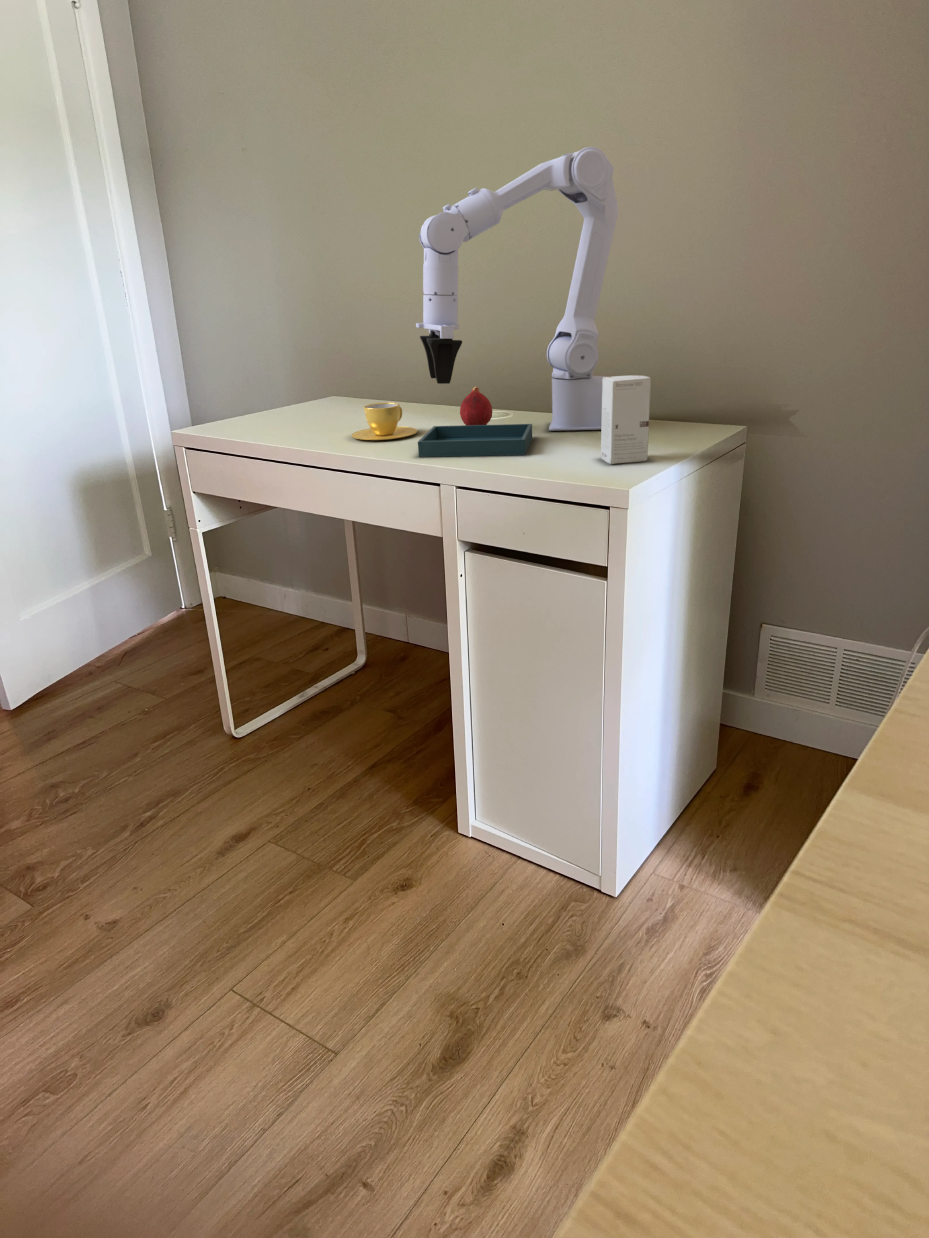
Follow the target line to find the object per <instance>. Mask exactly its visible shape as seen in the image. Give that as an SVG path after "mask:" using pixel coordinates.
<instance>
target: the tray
mask: <svg viewBox="0 0 929 1238" xmlns="http://www.w3.org/2000/svg"><path fill="white" fill-rule="evenodd" d="M532 440H533V423H512V424H511V423H510V424H509V423H508V424H487V425H465V424H464V425H433V426H432V427H431V428H430V429H429V430H428V431H427V432H426V433H425V434H424V435H423V436H422V437H421V438H420V439H419V440H417V451H418V458H443V457H444V458H446V457H448V458H449V457H450V458H451V457H501V456H508V457H509V456H511V457H512V456H526V454H527V451H528V450H529V447H530V445H531V443H532Z"/></svg>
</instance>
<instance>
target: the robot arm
mask: <svg viewBox="0 0 929 1238" xmlns="http://www.w3.org/2000/svg"><path fill="white" fill-rule="evenodd" d="M614 171H615V167H614V166H613V164H612V163H611V161H610V160H609V158H608V157H607V156H606V154H605V153H604V151H603V150H601V149H600V148H598V147H595V146H585V147H584V148H581V149H580V150H577V151H575V152H569V153H565V154H563V155H561V156H560V157H557V158H556V157H555V158H553V159H550V160H547V161H544V162H542V163H539V164H538V165H536V166H534V167H532V168H531V169H530V170H528V171H526V172H524V173H523V174H520V175H519V176H518V177H517V178H515V179H513V180H512V181H510V182H508V183H507V184H505V185H504V186H502V187H499V188H498V189H497V190H495V191H493V190H492V189H491V190H490V189H488V188H486V187H485V188H484V187H482V188H481V189H478V188H477V187H475V188H474V187H473V188H472V189H470V190H469V191H468V192H467V194H468V196H467V197H465V198H463V199H461V200H460V201H457V202H456V203H454V204H452V205H451V204H450V203H448V204H446V205H444V206H443V207H442V210H443V211H442V212H441V211H440V212H439V213H438V214H436V215H431V216H429V217H428V218H427V219H425V221H424V222H423V224H422V225H421V228H420V233H418V239H419V243H420V245H421V247H422V248H423V265H422V285H423V286H422V300H423V301H422V302H423V303H422V305H423V306H422V313H423V314H422V321H423V322H416V323H415V328H417V329H424V330H428V333H429V334H428V335H420V336H419V339H420V341H421V343H422V346H423V348H424V351H425V355H426V361H427V366H428V372H429V377H430V379H435V380H436V384H437V385H438V384H439V385H440V384H441V385H442V384H443V385H444V384H448V385H449V384H451V381H452V376H453V373H454V367H455V362H456V358H457V356H458V353H459V350H460V349H461V346H462V344H463V340H461V339H454V331H456V330H459V329H460V323H459V249H460V248H461V247H462V246H463V245H462V244H463V243H466V242H468V241H470V240H472V239H474V238H475V237H477V236H479V235H481V234H483V233H484V232H486V231H488V230H489V229H490V230H491V228H494V227H495V226H497V225H498V224H500V222H501V219H502V216H503V213H504V211H506V210H508V209H510V208H512V207H513V206H515V205H518V204H519V203H521V202H523V201H525V200H527V199H529V198H530V197H532V196H534V195H536V194H539V193H541V192H542V191H548V192H553V191H558V192H559V193H560V194H561V195H562V196H564V197H565V198H567V199H568V200H569V201H570V202H571V203H572V204H573V205H574V206H575V207H576V209H577V210H578V211H579V213H580V215H581V216H582V217H583V222H582V223H583V224H582V228H581V233H580V238H579V243H578V249H577V252H576V258H575V263H574V266H573V272H572V277H571V282H570V285H569V286H570V287H569V291H568V297H567V301H566V306H565V312H564V315H563V317H562V319H561V320H560V322H559V323H558V325H557V326H556V329H555V334H554V336H553V338H552V340H551V341H550V342H549V344H548V346H547V349H546V360H547V363H548V364H549V366H550V367H551V368H552V372H551V408H552V409H551V414H552V415H551V419H552V420H551V421H550V424H549V426H548V431H550V432H554V431H555V432H557V431H558V432H559V431H597V430H599V431H600V430H601V428H602V379H603V377H605V376H604V375H594V370H595V369H596V367H597V365H598V363H599V359H600V353H599V349H598V341H599V340H598V339H599V331H598V328H597V326H596V321H595V320H596V316H597V313H598V312H597V311H598V307H599V302H600V297H601V294H602V289H603V285H604V279H605V274H606V270H607V267H608V266H607V265H608V261H609V257H610V251H611V247H612V243H613V238H614V234H615V229H616V224H617V220H618V216H619V204H618V200H617V199H618V198H617V195H616V190H615V185H614V179H613V178H614V177H613V176H614Z"/></svg>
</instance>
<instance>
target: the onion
mask: <svg viewBox="0 0 929 1238" xmlns="http://www.w3.org/2000/svg"><path fill="white" fill-rule="evenodd" d="M459 415H460V419H461V421H462V423H463V424H464V425H489V422H490V421H491V420H492V417H493V406H492V403H491V401H490V400H489V398H488V397H487V396H486V395H485V394H483V393H481V392H480V388H479V387H477V386H474V387H472V389H471V391H470V393H469V394H467V395H466V396H465V397H464V399H463V400H462V402H461V403H460V408H459Z"/></svg>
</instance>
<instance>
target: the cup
mask: <svg viewBox="0 0 929 1238" xmlns="http://www.w3.org/2000/svg"><path fill="white" fill-rule="evenodd" d="M363 412H364V416H365V419H366V423H367V426H368V427H369V428H365V429H364V428H363V429H361V430H357V431H355V432H353V433H352V434H351V437H352V438H354V439H357V440H364V441H382V440H383V441H384V440H393V439H401V438H405V437H410V436H413V435H415V434H416V433H417V432H418V430H417V429H416V428H414V427H412V426H411V427H410V426H399V425H398V423H399V422H400V421H401V419H402V417H403V409H402V407H401V406H400V404H399V403H397V402H376V403H370V404H366V405H363Z"/></svg>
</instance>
